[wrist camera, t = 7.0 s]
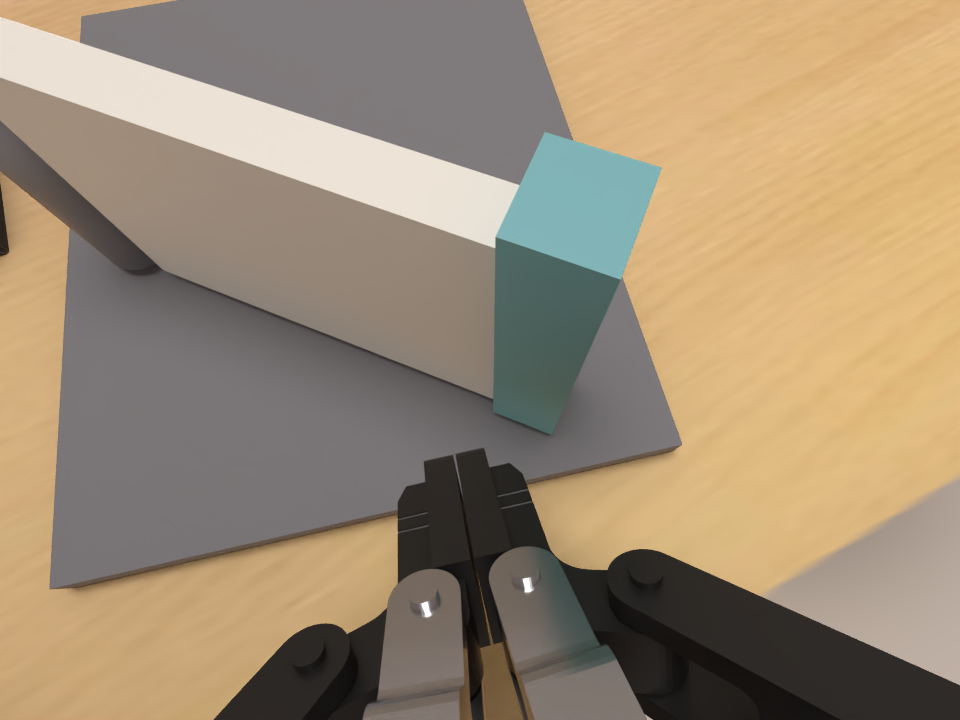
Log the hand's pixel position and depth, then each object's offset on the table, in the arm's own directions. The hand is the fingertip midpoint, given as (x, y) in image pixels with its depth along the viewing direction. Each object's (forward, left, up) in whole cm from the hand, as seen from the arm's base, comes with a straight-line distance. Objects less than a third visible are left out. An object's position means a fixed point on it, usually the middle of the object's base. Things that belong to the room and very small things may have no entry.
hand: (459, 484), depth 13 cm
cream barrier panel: (-4, +7, -4) cm, 9 cm away
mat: (-3, +13, -5) cm, 14 cm away
